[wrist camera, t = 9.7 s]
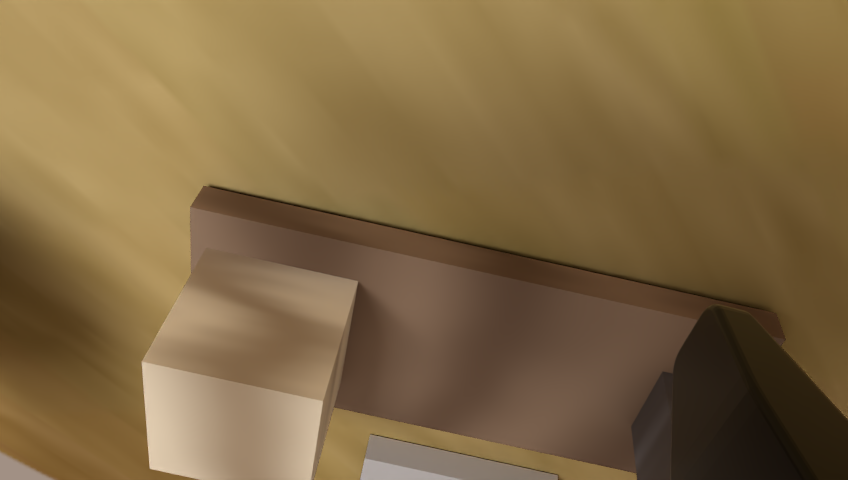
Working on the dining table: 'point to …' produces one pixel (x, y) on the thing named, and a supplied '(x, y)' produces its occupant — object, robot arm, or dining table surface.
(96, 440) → the dining table surface
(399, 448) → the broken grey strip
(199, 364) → the birch cube
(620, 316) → the grey post stand
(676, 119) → the dining table surface
